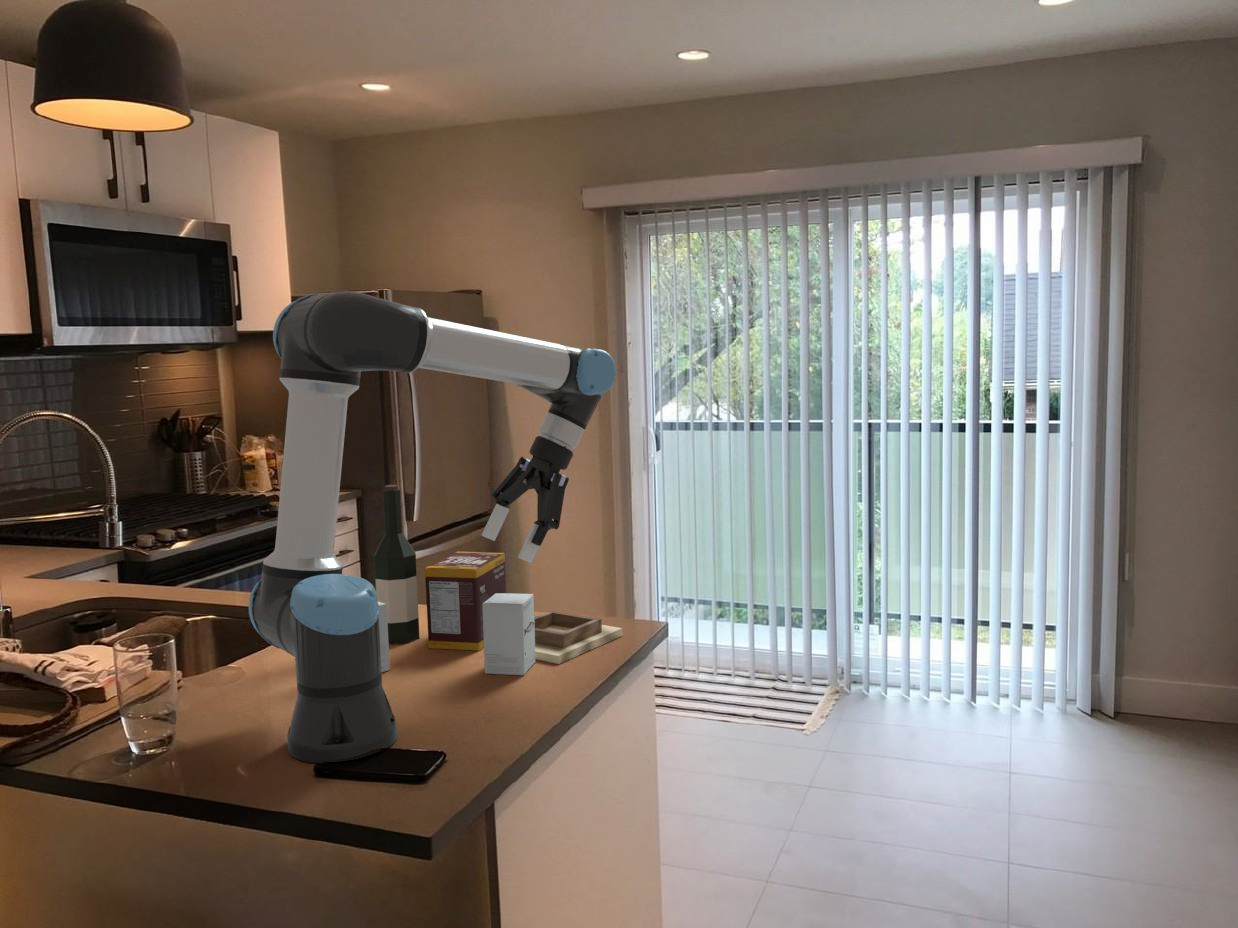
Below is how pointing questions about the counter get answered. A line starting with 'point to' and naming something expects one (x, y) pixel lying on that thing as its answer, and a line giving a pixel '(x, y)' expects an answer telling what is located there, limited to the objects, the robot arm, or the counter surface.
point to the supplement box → (461, 598)
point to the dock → (569, 636)
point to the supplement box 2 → (509, 633)
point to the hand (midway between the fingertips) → (505, 549)
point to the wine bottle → (397, 574)
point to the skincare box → (384, 637)
